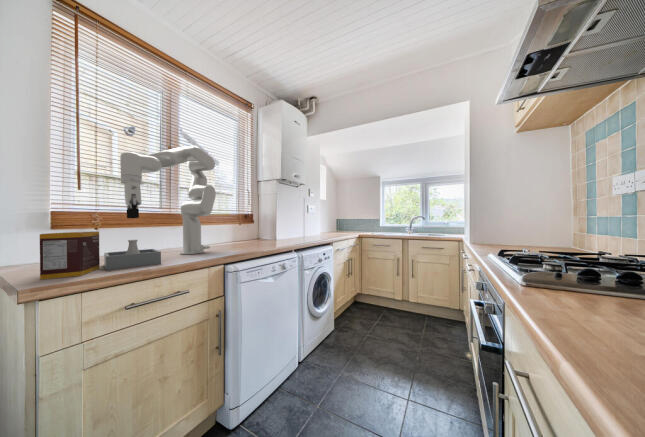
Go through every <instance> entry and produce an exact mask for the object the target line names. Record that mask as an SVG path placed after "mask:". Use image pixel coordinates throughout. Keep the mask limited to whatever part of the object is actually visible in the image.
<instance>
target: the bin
mask: <svg viewBox="0 0 645 437" xmlns="http://www.w3.org/2000/svg"><path fill="white" fill-rule="evenodd" d="M138 250H139V252H140V253H137V254H126V252H127V250H124V251H123V250H122V251H120V250H119V251H109V252H104V253H103V256H104V257H103V260H104V261H103V262H104V264H103V265H104V268H105V271H111V270H120V269H121V270H122V269H128V268H135V267H145V266H146V267H147V266H153V265H162V251H160V250H158V249H154V248H149V249H148V248H146V249H145V248H144V249H138Z"/></svg>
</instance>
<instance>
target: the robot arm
mask: <svg viewBox="0 0 645 437" xmlns="http://www.w3.org/2000/svg"><path fill="white" fill-rule="evenodd" d="M119 157H120V159H119V160H120V164H119V165H120V167H119V168H120V184H122V185H124V202H125V205H126V219H139V218H140V216H139V215H140V214H139V213H140V212H139V211H140V209H139V206H141V205H142V189H141V185H143V174H148V173H149V174H150V173H157V172H159V171H160V170H161V169H162V168H170V167H175V166H178V165H180V164H181V165H182V164H184V163H186V164H187V168H188V170H189V172H190V174H191V176H192V178H191V183H190V187H189V189H188V193H187V195H188V198H189V199H190V200H188V201H187V200H186V201H183V203H182V204H181V206H180V213H181V217H182V248H183V249H182V251H180V252H179V253H180V255H196V254H203V253H205V250H209V249H210V248H211V247H210V246H211V245H204V244H202V223H201V220H200V218H199V217H208V216H210V215H211V213H212V211H213V208H214V204H215V199H216V197H217V196H216V190H215V186H213V185H212V184H208V179H207V176H206V175H205V173H204V172H205V171H212V170H214V169H215V167H216V162H215V160H214V158H213V157H212V156H211V155H209V154H208V153H207V152H205V151H204V149H202V148H201V147H198V146H197V145H190V146H187V145H186V146H179V147H176V148H175V147H174V148H171V149H167V150H163V151H157V152H154V153H150V154H145V155H144V154H143V155H142V154H139V153H137V152H133V151H132V152H131V151H124V152H120V156H119Z"/></svg>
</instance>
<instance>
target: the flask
mask: <svg viewBox="0 0 645 437" xmlns="http://www.w3.org/2000/svg"><path fill="white" fill-rule="evenodd" d="M127 241H128V247H127V250H126V251H127V252H126V254H137V253H140V252H139V250H140V249H139V248H138V239H128V240H127Z"/></svg>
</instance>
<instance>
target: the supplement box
mask: <svg viewBox="0 0 645 437" xmlns="http://www.w3.org/2000/svg"><path fill="white" fill-rule="evenodd" d="M100 260H101V259H100V231H99V230H98V231H69V232H68V231H66V232H49V233H39V280H48V279H49V280H50V279H60V278H71V277H81V276H85V275H87V274H89V273H92V272H94V271H97V270H99V269H100V263H101V262H100Z"/></svg>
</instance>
